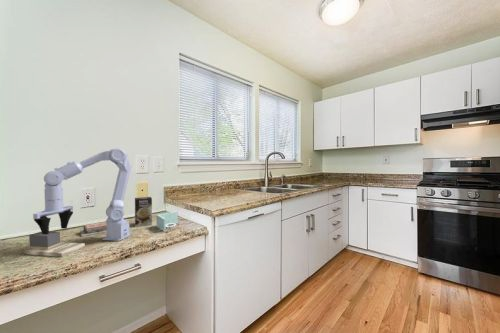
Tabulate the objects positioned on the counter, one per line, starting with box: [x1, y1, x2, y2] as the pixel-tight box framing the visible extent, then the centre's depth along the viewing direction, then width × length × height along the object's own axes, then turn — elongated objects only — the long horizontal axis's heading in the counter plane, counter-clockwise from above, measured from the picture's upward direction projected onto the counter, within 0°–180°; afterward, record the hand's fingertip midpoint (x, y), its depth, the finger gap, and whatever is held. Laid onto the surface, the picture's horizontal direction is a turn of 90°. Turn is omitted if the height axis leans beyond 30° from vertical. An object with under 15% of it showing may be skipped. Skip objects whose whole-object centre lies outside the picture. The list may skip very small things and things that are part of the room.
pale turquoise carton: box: [155, 211, 179, 233], centre depth 124 cm, size 12×12×8 cm
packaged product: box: [79, 221, 107, 238], centre depth 117 cm, size 18×5×10 cm
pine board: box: [23, 241, 86, 258], centre depth 92 cm, size 18×10×2 cm, turn 82°
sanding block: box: [29, 230, 61, 249], centre depth 93 cm, size 9×5×6 cm, turn 81°
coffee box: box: [134, 196, 153, 228], centre depth 128 cm, size 9×6×16 cm
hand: (55, 231), depth 92 cm, fingers open, 7 cm apart
